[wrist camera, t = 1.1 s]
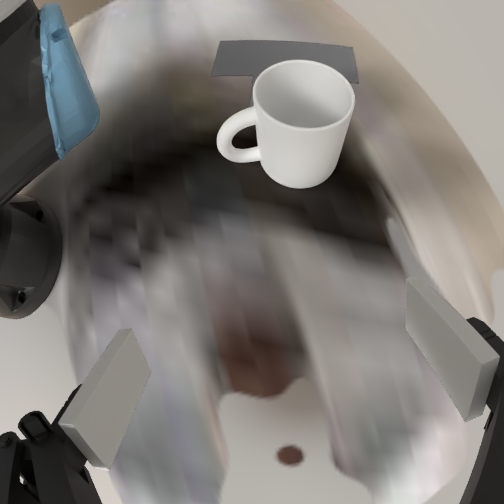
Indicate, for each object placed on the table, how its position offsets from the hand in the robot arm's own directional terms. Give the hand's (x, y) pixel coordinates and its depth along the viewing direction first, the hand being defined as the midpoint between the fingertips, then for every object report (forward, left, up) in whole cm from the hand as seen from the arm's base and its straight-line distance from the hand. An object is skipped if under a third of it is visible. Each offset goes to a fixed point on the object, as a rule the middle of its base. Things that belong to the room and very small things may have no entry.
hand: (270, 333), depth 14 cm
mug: (0, +18, -15) cm, 23 cm away
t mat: (0, +32, -15) cm, 35 cm away
